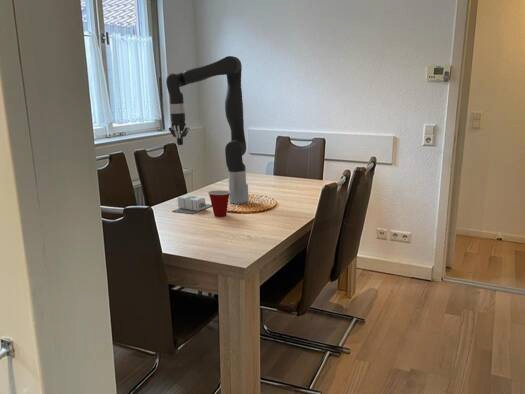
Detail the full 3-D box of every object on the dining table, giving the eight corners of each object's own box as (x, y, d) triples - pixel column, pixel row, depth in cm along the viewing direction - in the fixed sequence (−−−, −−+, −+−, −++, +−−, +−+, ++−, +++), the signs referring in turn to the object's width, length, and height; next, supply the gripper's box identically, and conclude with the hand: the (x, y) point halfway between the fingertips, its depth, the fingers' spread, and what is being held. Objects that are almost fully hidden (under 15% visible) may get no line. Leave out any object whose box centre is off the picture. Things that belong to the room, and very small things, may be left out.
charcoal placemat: (213, 205, 253) (213, 204, 253) (192, 214, 237) (192, 213, 237) (193, 203, 259) (193, 202, 259) (172, 211, 244) (172, 211, 244)
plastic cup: (236, 214, 233) (235, 190, 230) (219, 219, 226) (217, 194, 223) (222, 211, 240) (220, 187, 238) (204, 216, 233) (203, 191, 230)
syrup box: (178, 208, 249) (198, 211, 241) (176, 197, 248) (197, 200, 240) (185, 205, 254) (206, 208, 246) (184, 194, 252) (205, 197, 244)
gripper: (192, 111, 254) (194, 144, 258) (172, 112, 261) (175, 143, 265) (183, 112, 248) (185, 146, 252) (163, 113, 254) (166, 145, 258)
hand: (180, 145), depth 258 cm, fingers closed
